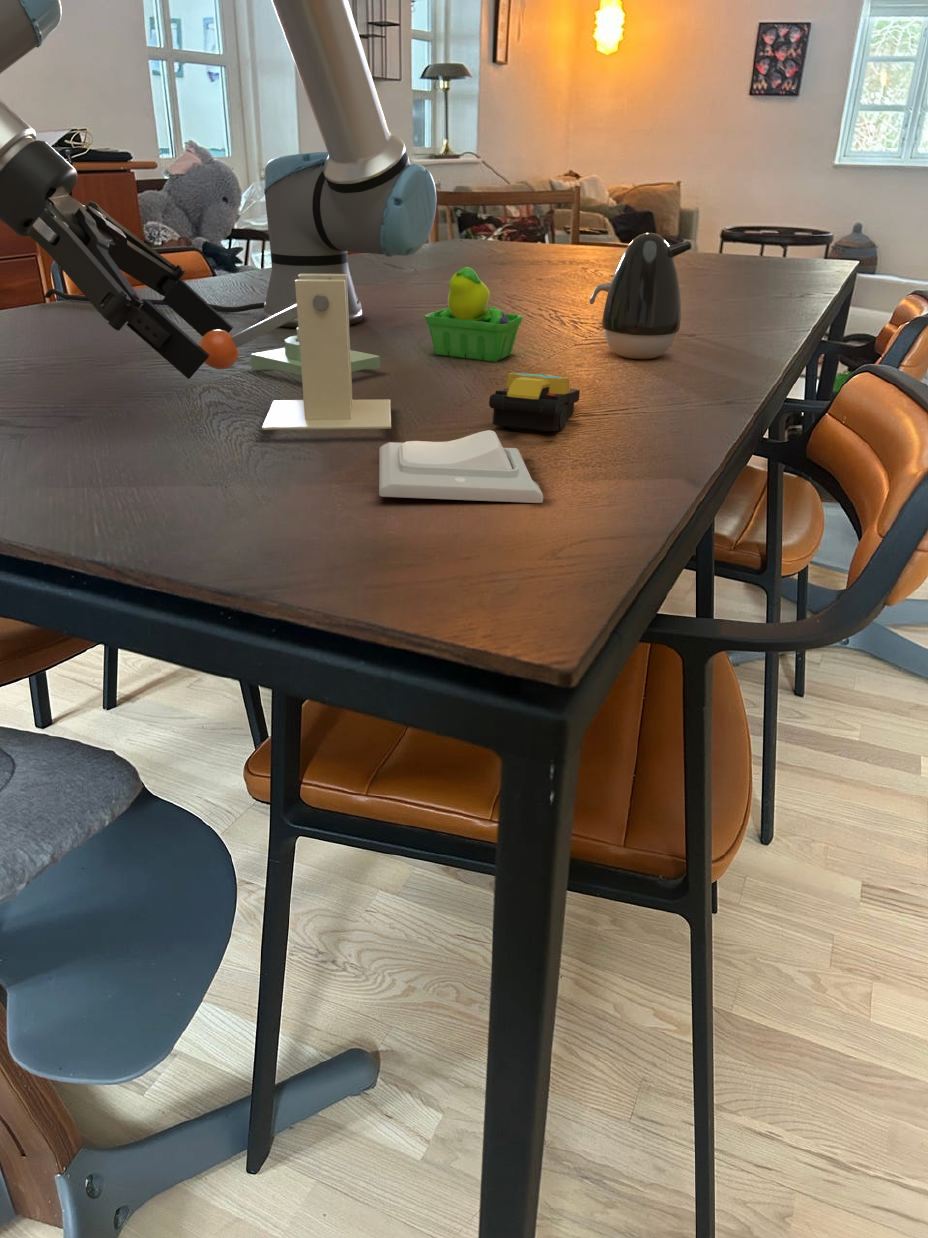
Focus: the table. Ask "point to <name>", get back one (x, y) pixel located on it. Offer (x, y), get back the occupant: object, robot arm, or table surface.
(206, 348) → the lever
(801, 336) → the table surface
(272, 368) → the button block
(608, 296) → the pump dispenser
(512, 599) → the table surface
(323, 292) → the bracket
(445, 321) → the fruit basket
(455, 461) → the light switch
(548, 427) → the gadget
